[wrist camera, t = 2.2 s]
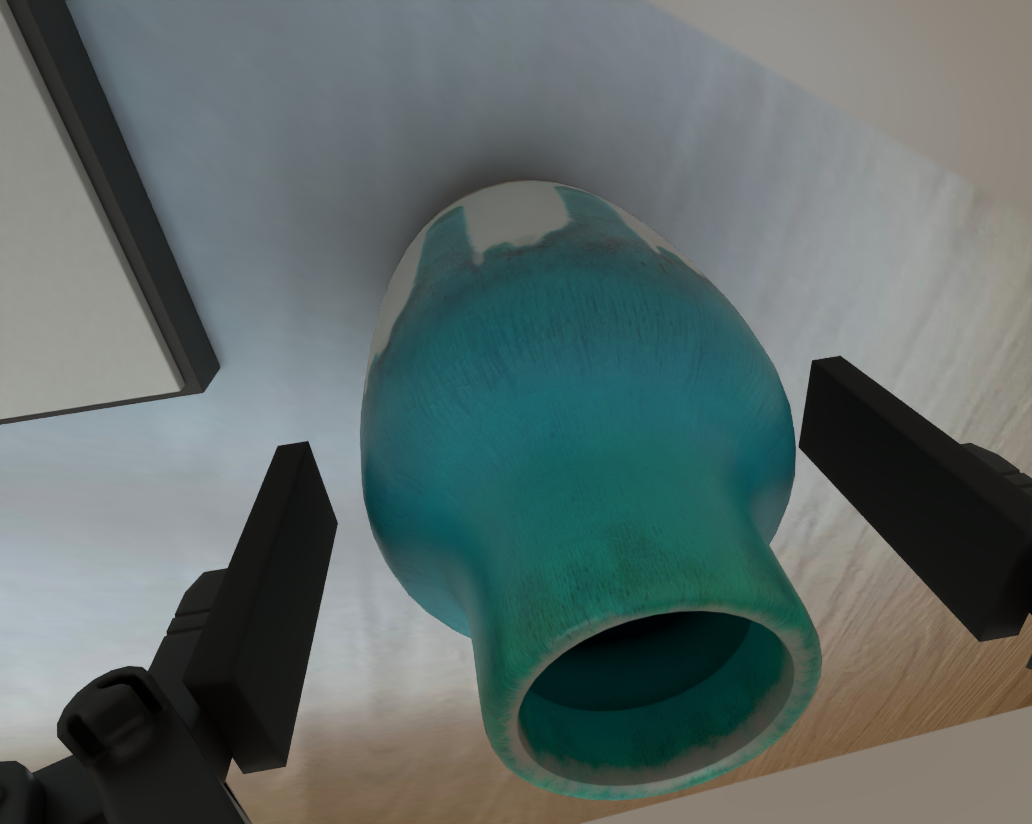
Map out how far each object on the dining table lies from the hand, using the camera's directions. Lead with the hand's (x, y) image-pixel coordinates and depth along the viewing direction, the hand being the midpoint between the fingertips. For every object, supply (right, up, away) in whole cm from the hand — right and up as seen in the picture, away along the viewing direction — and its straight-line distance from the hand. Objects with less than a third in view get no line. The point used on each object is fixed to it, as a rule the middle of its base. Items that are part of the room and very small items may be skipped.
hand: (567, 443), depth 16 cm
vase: (-1, +6, +10) cm, 12 cm away
